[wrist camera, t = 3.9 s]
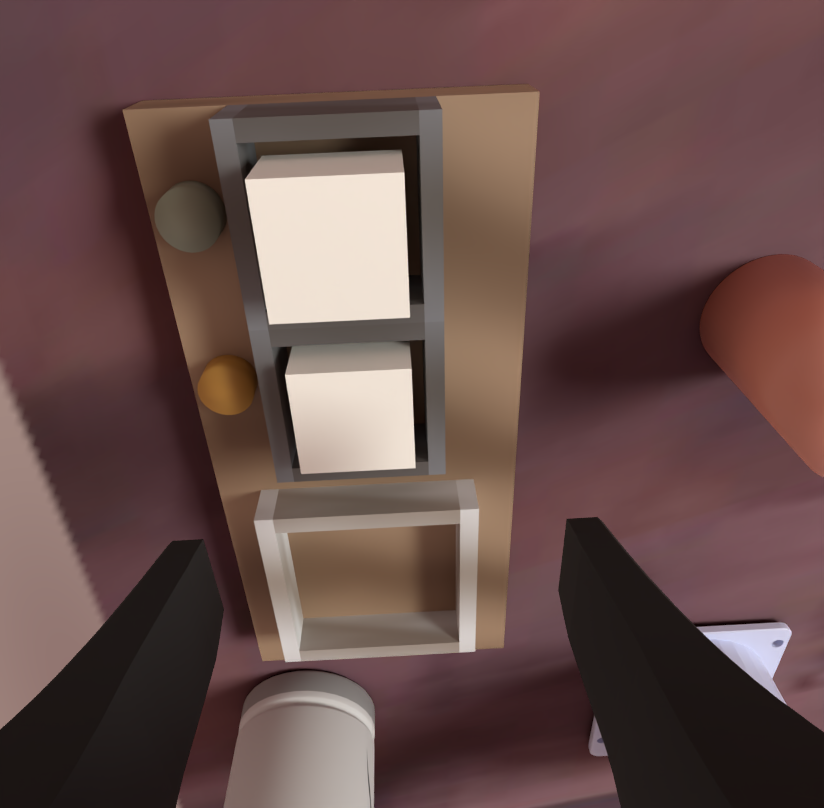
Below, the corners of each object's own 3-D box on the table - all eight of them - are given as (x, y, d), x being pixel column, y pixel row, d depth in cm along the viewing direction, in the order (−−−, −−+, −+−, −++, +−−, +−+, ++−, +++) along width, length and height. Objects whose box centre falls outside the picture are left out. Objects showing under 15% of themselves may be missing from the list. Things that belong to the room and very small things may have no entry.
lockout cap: (806, 365, 22) (932, 478, 17) (688, 371, 22) (780, 486, 17) (844, 251, 20) (1003, 341, 15) (714, 257, 20) (828, 349, 15)
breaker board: (498, 618, 28) (511, 691, 25) (267, 630, 28) (254, 706, 25) (527, 83, 17) (558, 104, 14) (142, 100, 17) (90, 124, 14)
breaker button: (406, 281, 17) (409, 317, 15) (282, 286, 17) (269, 324, 15) (401, 149, 15) (404, 172, 13) (262, 155, 15) (244, 179, 13)
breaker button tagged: (412, 423, 20) (415, 468, 18) (308, 428, 20) (300, 473, 18) (408, 330, 18) (411, 368, 16) (294, 335, 18) (285, 374, 16)
